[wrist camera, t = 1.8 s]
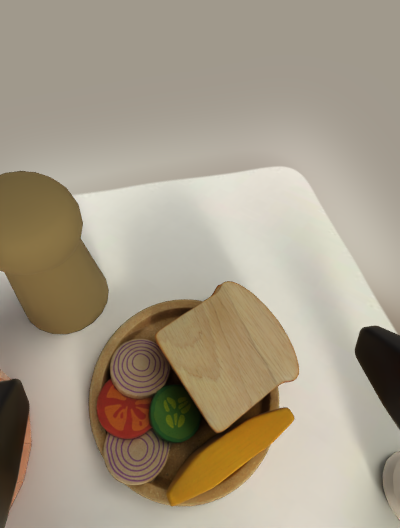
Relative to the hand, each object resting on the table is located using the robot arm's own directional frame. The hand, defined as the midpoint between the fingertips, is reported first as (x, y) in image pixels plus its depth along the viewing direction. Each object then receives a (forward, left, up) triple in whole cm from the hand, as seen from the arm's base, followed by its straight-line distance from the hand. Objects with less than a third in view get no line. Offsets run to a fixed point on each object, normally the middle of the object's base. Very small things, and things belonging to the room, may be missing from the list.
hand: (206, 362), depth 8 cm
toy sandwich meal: (+2, 0, -15) cm, 15 cm away
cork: (+2, +11, -15) cm, 18 cm away
